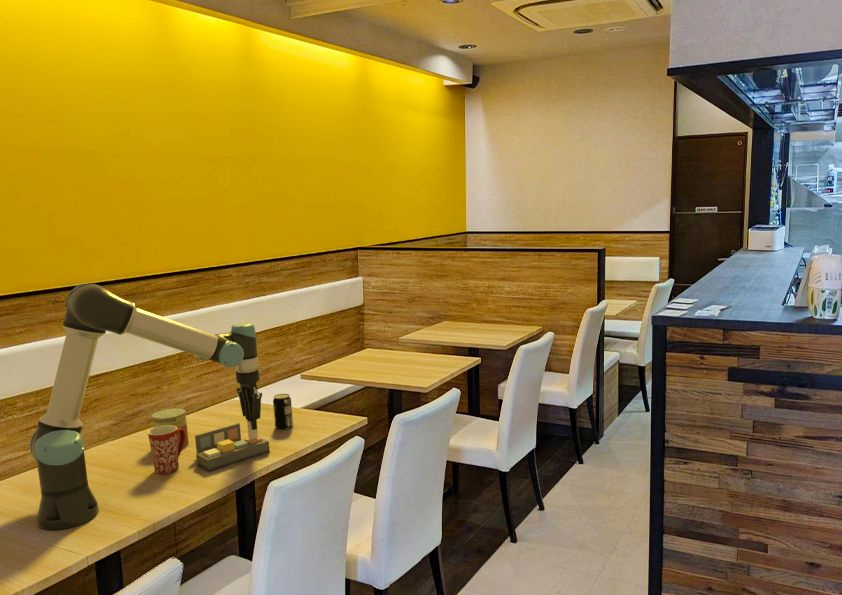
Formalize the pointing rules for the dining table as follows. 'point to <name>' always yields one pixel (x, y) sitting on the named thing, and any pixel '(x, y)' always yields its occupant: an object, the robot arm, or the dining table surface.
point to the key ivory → (211, 453)
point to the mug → (165, 447)
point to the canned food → (172, 421)
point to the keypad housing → (232, 456)
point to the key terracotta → (253, 440)
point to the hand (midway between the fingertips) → (253, 438)
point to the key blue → (240, 444)
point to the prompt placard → (217, 437)
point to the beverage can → (282, 411)
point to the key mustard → (225, 446)
